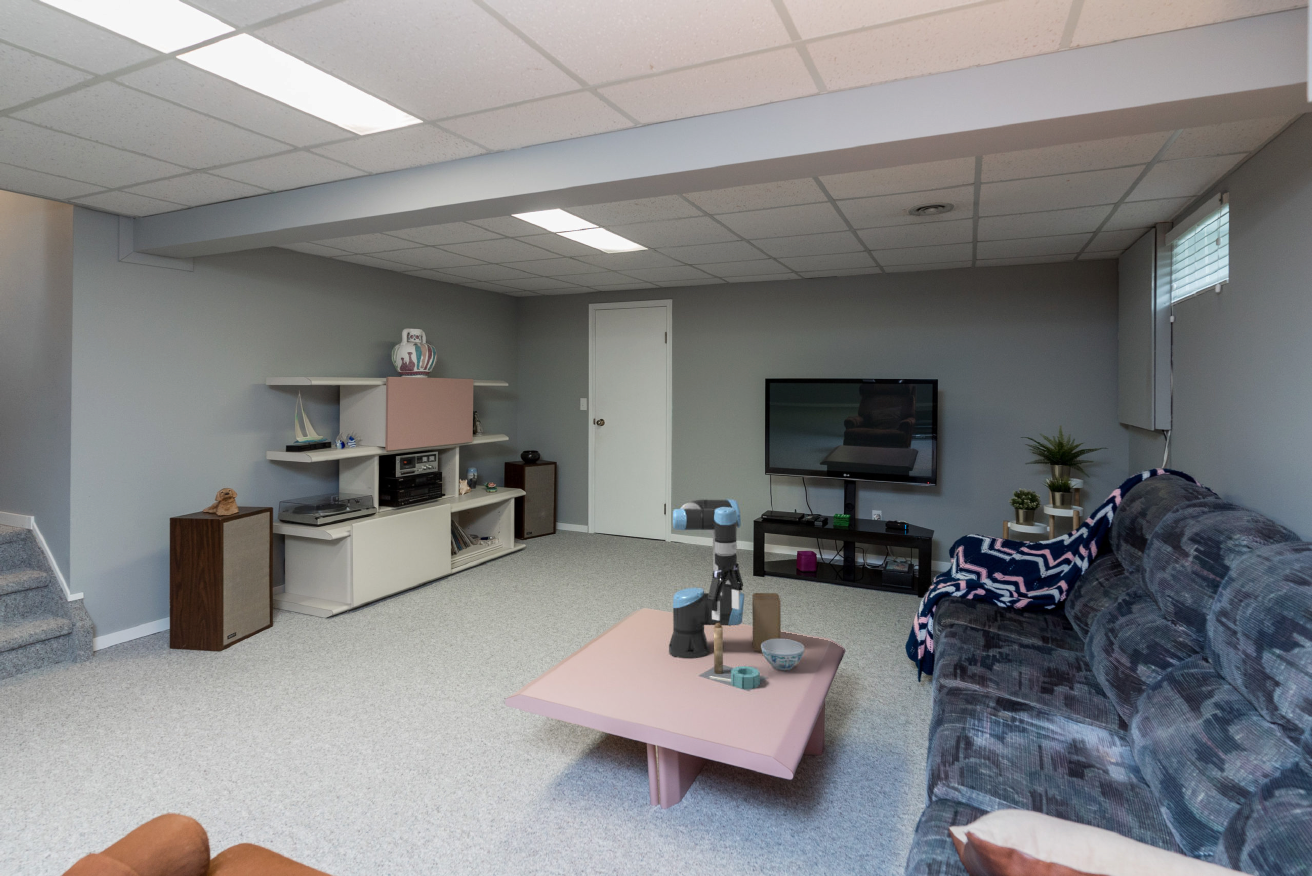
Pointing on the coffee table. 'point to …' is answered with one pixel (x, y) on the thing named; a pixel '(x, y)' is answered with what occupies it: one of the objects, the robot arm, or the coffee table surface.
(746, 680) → the bead
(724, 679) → the white stick
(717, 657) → the wooden rod
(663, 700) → the coffee table surface
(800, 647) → the chinaware
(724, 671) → the mat
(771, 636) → the wooden block
